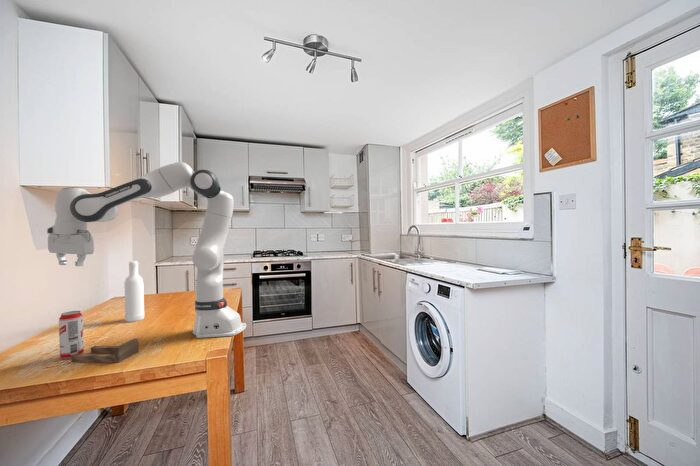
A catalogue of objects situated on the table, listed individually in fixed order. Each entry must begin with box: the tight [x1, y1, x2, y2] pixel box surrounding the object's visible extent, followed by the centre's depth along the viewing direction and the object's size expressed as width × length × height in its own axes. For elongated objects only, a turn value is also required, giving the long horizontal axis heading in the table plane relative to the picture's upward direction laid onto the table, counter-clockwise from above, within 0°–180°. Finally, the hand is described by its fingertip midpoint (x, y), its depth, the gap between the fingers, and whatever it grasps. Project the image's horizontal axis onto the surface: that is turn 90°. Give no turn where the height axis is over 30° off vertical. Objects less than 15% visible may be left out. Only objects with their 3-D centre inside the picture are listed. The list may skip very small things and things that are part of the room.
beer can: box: [58, 310, 85, 360], centre depth 103 cm, size 6×6×16 cm
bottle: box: [123, 260, 146, 323], centre depth 144 cm, size 8×8×30 cm
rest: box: [71, 338, 140, 363], centre depth 102 cm, size 18×8×5 cm, turn 87°
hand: (70, 265), depth 108 cm, fingers open, 8 cm apart
